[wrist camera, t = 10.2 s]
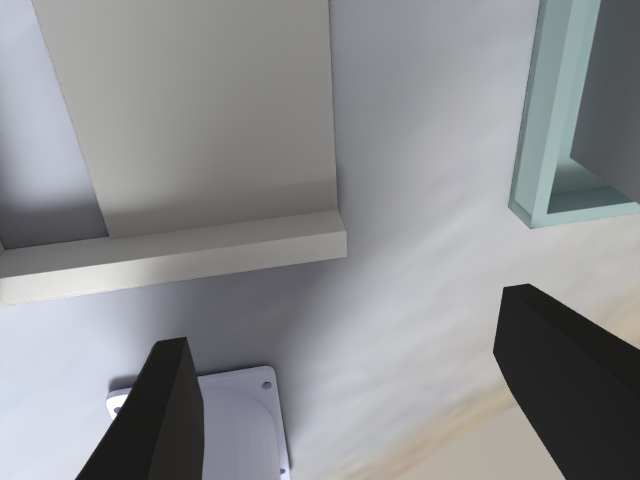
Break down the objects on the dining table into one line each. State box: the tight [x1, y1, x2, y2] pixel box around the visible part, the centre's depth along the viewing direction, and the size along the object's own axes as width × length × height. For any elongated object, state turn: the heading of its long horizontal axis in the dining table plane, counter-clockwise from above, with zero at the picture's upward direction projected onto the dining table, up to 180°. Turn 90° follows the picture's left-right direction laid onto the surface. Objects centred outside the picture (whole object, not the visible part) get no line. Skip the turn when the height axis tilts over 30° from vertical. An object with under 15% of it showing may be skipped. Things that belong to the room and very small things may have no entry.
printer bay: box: [0, 0, 348, 307], centre depth 16 cm, size 12×15×4 cm
